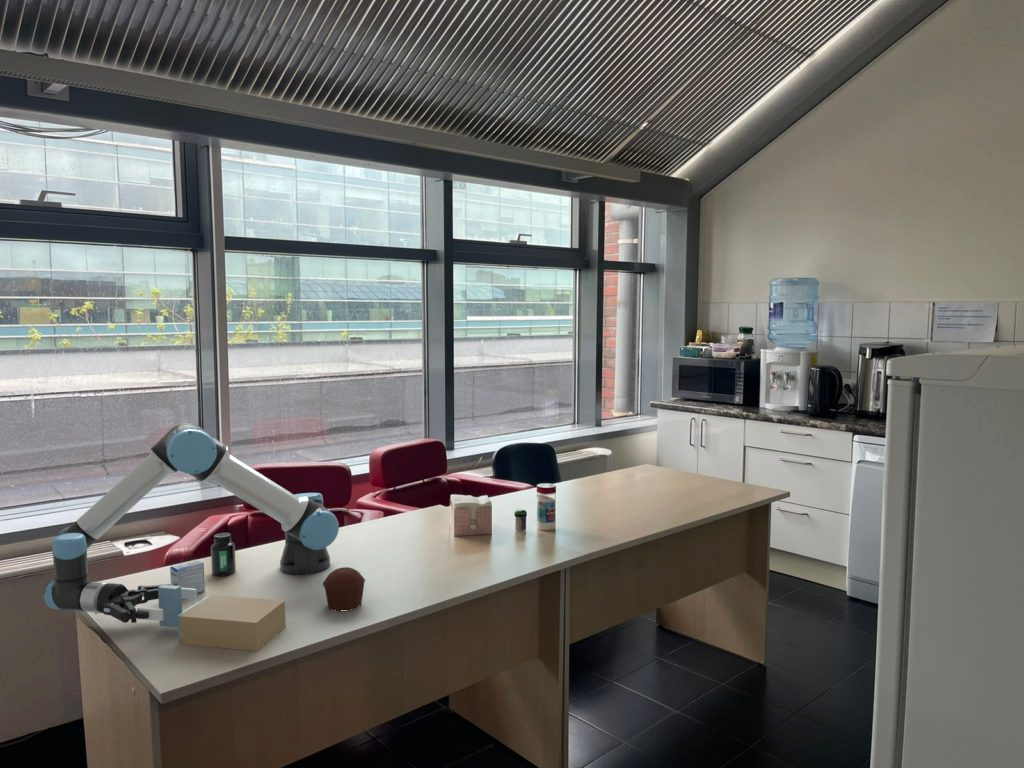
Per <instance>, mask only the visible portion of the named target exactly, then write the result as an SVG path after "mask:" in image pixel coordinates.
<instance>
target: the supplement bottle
mask: <svg viewBox="0 0 1024 768" xmlns="http://www.w3.org/2000/svg"><path fill="white" fill-rule="evenodd" d="M213 542H214V543H213V544H212V545H211V546H210V555H211V556H210V557H211V559H210V560H211V574H212V575H213V576H215V577H227V576H231V575H233V574H235V572H236V571H237V570H236V569H237V567H236V563H237V562H236V546H235V545H236V544H235V543H234V542H233V541H232V534H231V533H230V532H218V533H216V534H214V535H213Z"/></svg>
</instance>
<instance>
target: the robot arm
mask: <svg viewBox="0 0 1024 768" xmlns="http://www.w3.org/2000/svg"><path fill="white" fill-rule="evenodd" d="M178 471H179V472H181V473H184V474H187V475H190V476H191V477H194V478H195V479H197V480H198V481H199V482H203V483H204V482H207V481H211V482H213V483H215V484H216V485H217V486H219V487H221V488H222V489H224V490H226V491H227V492H229V493H231V494H233V495H234V496H235V497H237V498H239V499H241V500H242V501H244V502H246V503H247V504H249V505H251V506H252V507H254V508H255V509H258V510H259V511H261V512H262V513H264V514H265V515H267V516H269V517H271V518H272V519H274V520H275V521H277V522H279V523H280V525H281V530H282V531H283V532H284V537H285V539H284V540H285V543H284V544H285V545H284V546H283V551H282V554H281V558H280V561H279V565H280V566H279V567H280V570H281V571H282V572H283V573H285V574H290V575H305V574H314V573H318V572H321V571H323V570H326V569H328V568H329V567H330V566H331V557H330V554H329V551H328V549H327V547H329V546H330V545H331V544H332V543H334V542H335V540H336V539H337V536H338V534H339V531H340V524H339V521H338V519H337V517H336V515H335V514H334V513H333V512H332V511H330V510H328V509H327V507H325V506H324V498H323V494H322V493H320V492H306V493H305V492H303V493H296V494H293V493H292V492H291V491H289V490H287V489H286V488H284V487H282V486H281V485H279V484H277V483H276V482H275V481H273V480H271V478H268V477H266V476H265V475H263V474H262V473H260V472H259V471H257V470H255V469H254V468H253V467H250V466H249V465H248V464H246V463H244V462H243V461H242V460H239V459H238V458H236V457H235V456H234V455H232V454H230V451H229V446H228V445H226V444H225V443H223V442H222V441H220V440H218V439H217V438H216V437H214V436H212V435H211V434H209V433H207V432H206V431H205V430H204V429H203V428H202V427H201V426H200V425H198V424H195V423H190V422H184V423H183V422H182V423H179V424H177V425H174V426H173V427H171V428H170V429H169V430H168V431H167V432H166V433H165V434H164V435H163V436H162V437H161V438H160V439H159V440H158V441H157V442H156V443H155V444H154V445H153V446H152V447H150V449H149V454H148V456H146V457H145V458H144V459H143V460H142V461H140V463H138V464H137V465H136V466H135V467H134V468H133V469H132V470H130V472H129V473H127V474H126V475H125V476H124V477H123V478H122V479H121V480H120V481H118V483H117V484H115V485H114V486H113V487H112V488H111V489H110V490H109V491H107V493H105V494H104V495H103V496H102V497H100V499H99V500H97V502H96V503H94V504H92V506H90V508H89V509H88V510H87V511H85V512H84V513H83V514H82V515H81V516H80V517H78V519H77V520H76V521H74V522H73V523H72V524H71V525H70V526H68V527H66V528H64V529H62V530H60V532H58V534H57V536H56V537H55V538H54V539H53V541H52V548H51V549H52V550H51V553H52V560H53V571H54V580H52V581H51V582H49V584H48V585H47V586H46V588H45V593H44V602H45V605H46V606H47V607H49V608H50V609H54V610H60V611H63V612H64V611H65V612H67V611H72V612H73V611H74V612H85V613H94V614H95V615H98V614H104V615H105V616H111V617H113V618H115V619H116V620H118V621H120V622H122V623H124V624H127V623H129V622H130V623H132V624H135V623H137V620H146V621H156V622H157V621H158V622H160V621H162V620H164V618H163V609H159V608H156V607H145V606H139V607H136V606H137V605H140V604H147V603H148V602H149V601H154V600H159V598H158V587H160V586H162V585H174V586H178V584H177V583H173V584H171V583H167V584H166V583H165V584H155V585H154V584H152V585H138V586H137V589H128V588H127V587H126V586H125V585H124V584H122V583H113V582H102V581H101V582H100V581H90V580H89V572H88V549H89V548H90V547H91V546H93V544H95V543H96V541H98V540H99V539H100V538H101V536H103V535H104V534H105V533H106V532H107V531H108V530H109V529H111V528H112V527H113V526H114V525H115V524H116V523H117V522H118V521H119V520H121V518H122V517H123V516H124V515H126V514H127V513H128V512H129V511H130V510H131V509H133V507H135V506H136V505H137V504H138V503H139V501H141V500H142V499H143V498H144V497H146V496H147V495H148V494H149V493H150V492H151V491H152V490H153V489H154V488H155V487H156V486H157V485H158V484H160V483H161V481H163V480H164V479H165V478H167V477H168V475H170V474H176V473H177V472H178ZM181 600H188V601H189V600H191V601H196V600H198V593H197V589H192V588H181Z"/></svg>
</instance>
